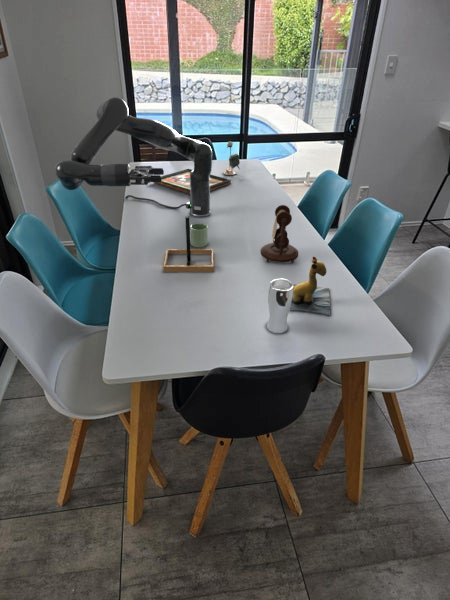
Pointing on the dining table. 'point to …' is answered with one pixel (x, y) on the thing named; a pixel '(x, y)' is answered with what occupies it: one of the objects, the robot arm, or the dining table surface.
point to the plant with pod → (232, 161)
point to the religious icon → (182, 181)
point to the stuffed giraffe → (312, 292)
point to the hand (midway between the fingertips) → (162, 174)
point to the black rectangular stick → (188, 240)
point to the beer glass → (279, 304)
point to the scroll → (280, 239)
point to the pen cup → (199, 234)
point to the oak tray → (184, 267)
